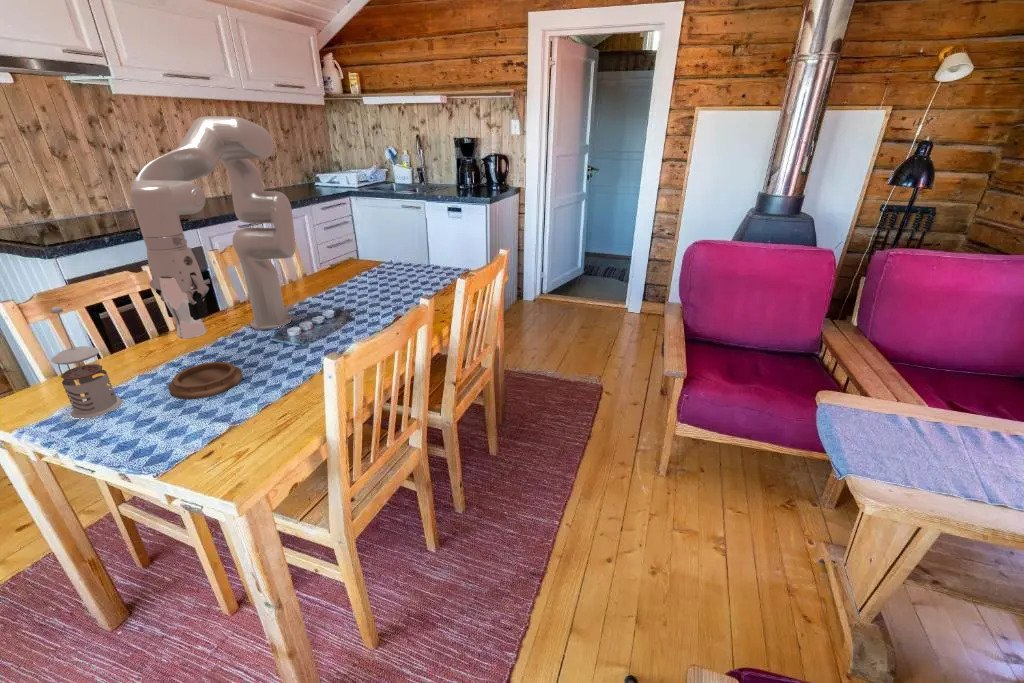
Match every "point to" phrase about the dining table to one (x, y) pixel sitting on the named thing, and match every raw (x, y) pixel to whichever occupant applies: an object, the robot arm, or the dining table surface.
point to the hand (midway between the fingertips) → (187, 316)
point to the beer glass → (181, 309)
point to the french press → (85, 381)
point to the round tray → (205, 380)
